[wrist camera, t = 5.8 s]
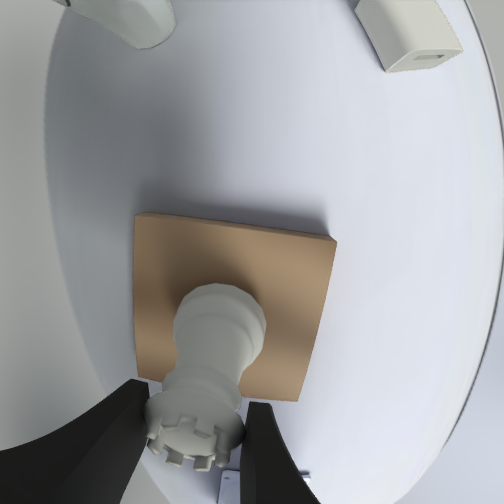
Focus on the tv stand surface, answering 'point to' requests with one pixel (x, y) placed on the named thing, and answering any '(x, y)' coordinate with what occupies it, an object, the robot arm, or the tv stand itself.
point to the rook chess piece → (206, 377)
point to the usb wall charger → (408, 33)
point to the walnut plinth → (236, 274)
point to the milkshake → (129, 18)
